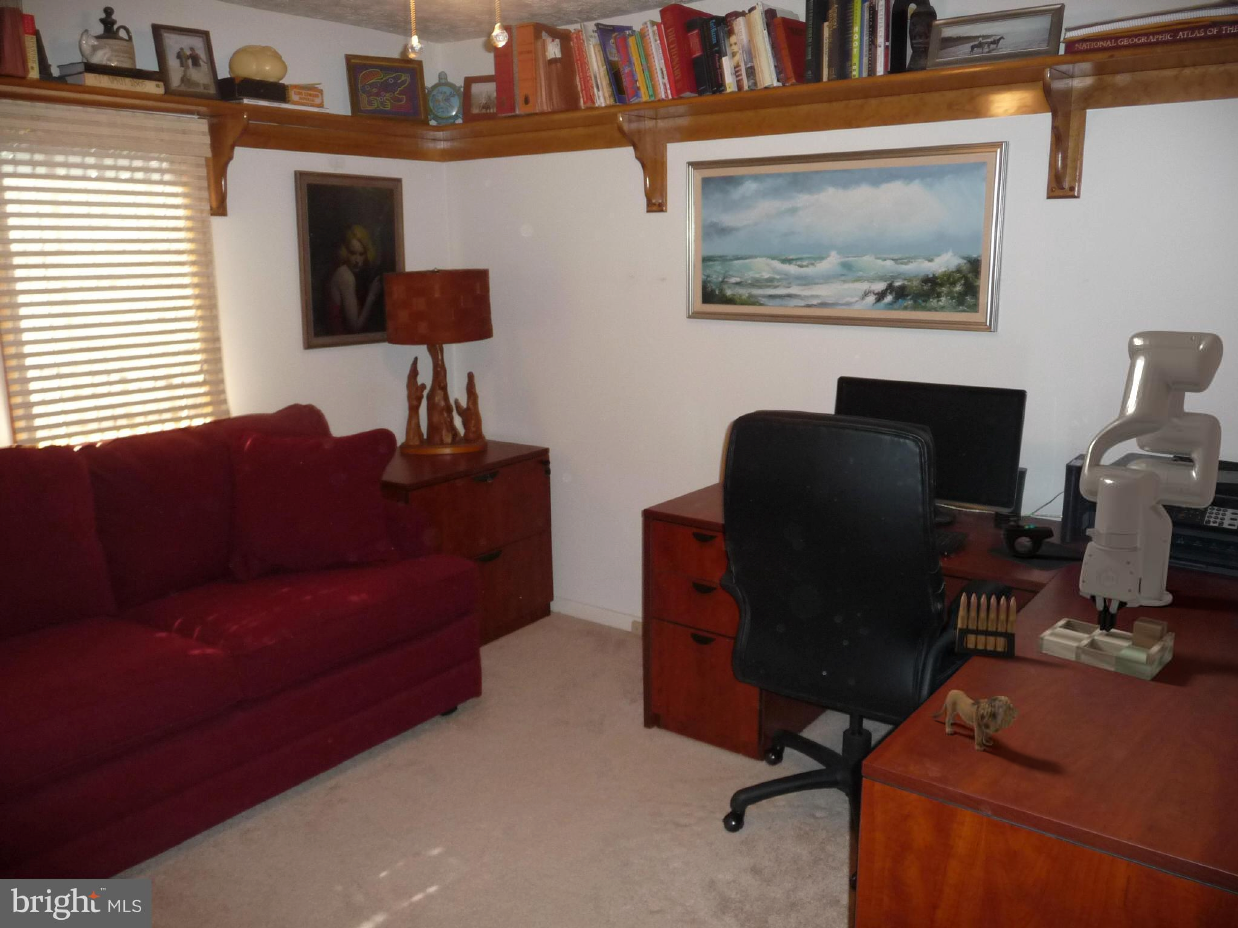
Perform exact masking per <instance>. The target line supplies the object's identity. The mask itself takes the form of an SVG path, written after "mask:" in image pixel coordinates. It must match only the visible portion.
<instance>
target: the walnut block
mask: <svg viewBox="0 0 1238 928" xmlns="http://www.w3.org/2000/svg"><path fill="white" fill-rule="evenodd" d="M1167 627H1168V621H1163V620H1159V619H1154V618H1150V617H1146V616H1140V617H1139V618H1137V619H1136V621H1134V622H1133V628H1132V629H1133V630H1132V634H1133V637H1132V645H1133V646H1137V647H1141V648H1145V649H1149V650H1151V649H1152V648H1153V647H1154V646H1155V645H1156V644H1157V643H1158V642H1159V641H1160V640H1161V639H1162V638H1163V637H1164V636H1165V635H1166V634H1167V631H1168V628H1167Z"/></svg>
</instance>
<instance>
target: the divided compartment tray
mask: <svg viewBox="0 0 1238 928" xmlns="http://www.w3.org/2000/svg"><path fill="white" fill-rule="evenodd" d="M1099 629H1100V625H1099V624H1094V623H1088V622H1085V621H1080V620H1075V619H1073V618H1072V619H1071V618H1067V617H1063V618H1062V619H1060V620H1059V621H1057V623H1055V624H1054V625H1052V626H1051V627H1050V628H1048V629H1047V630H1045V631H1044V632H1043V633H1041V634H1040V635H1038V639H1037V648H1036V649H1037V650H1036V651H1037V652H1039V653H1044V654H1046V653H1047V654H1046V655H1050V656H1055V657H1058V658H1061V659H1066V660H1070V661H1073V662H1077V663H1081V664H1085V665H1088V666H1092V667H1097V668H1100V669H1104V670H1106V671H1107V670H1108V671H1111V672H1116V673H1119V674H1123V675H1126V676H1131V677H1135V678H1138V679H1142V680H1146V681H1148V682H1149V681H1151V680H1152V679H1153V678H1154V677H1155V676H1156V675H1157V674H1158V673H1159V672H1160V671H1161V670H1162V669H1163V668H1164V667H1165V666H1166V665H1167V664H1168V663H1169V662H1170V661H1171V660H1172V659H1173V654H1174V653H1173V652H1174V644H1175V637H1176V636H1175V635H1176V633H1175V632H1171V631H1169V632H1166V635H1165V636H1164V637H1163V638H1162V639H1161V640H1160V641H1159V642H1158V643H1157V644H1156V645H1155V646H1154V647H1153V648H1152V649H1151V650H1149V649H1145V648H1141V647H1137V646H1133V645H1132V637H1133V632H1132V633H1131V632H1128V631H1122V630H1119V629H1115V628H1113V629H1112V630H1111V631H1109V632H1105V631H1100V630H1099Z"/></svg>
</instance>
